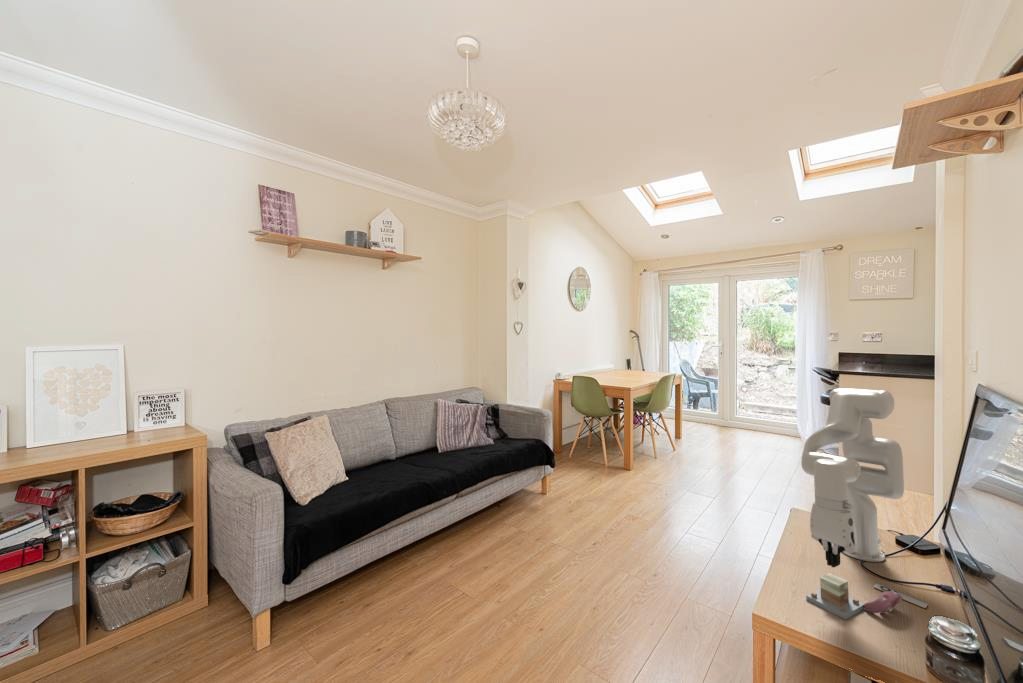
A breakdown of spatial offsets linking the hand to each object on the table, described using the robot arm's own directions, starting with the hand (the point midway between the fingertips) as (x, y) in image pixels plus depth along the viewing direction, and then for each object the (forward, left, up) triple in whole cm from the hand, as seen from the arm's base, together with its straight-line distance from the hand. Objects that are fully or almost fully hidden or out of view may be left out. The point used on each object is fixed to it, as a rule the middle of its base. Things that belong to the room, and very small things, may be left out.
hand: (833, 565), depth 118 cm
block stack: (0, 0, -10) cm, 10 cm away
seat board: (0, 0, -12) cm, 12 cm away
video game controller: (-9, +8, -12) cm, 17 cm away
